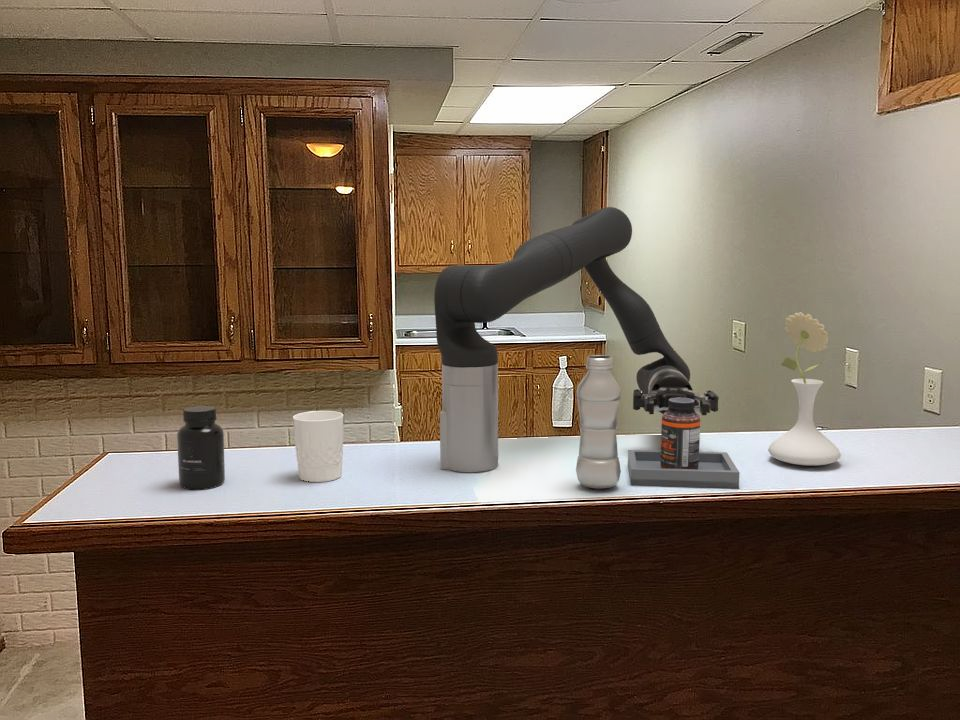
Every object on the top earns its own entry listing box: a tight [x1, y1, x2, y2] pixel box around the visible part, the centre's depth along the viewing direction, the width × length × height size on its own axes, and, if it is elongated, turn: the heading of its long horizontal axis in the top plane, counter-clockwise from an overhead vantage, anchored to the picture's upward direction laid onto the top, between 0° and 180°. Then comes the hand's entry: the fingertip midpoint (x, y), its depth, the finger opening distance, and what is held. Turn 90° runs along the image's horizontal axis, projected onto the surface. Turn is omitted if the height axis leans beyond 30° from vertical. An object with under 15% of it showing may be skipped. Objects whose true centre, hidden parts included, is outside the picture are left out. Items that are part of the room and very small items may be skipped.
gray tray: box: [627, 449, 740, 490], centre depth 132 cm, size 16×12×2 cm
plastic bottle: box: [575, 354, 622, 489], centre depth 125 cm, size 6×7×20 cm
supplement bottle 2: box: [660, 397, 701, 470], centre depth 131 cm, size 6×6×11 cm
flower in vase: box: [767, 311, 842, 466], centre depth 139 cm, size 13×11×25 cm
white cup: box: [292, 410, 345, 483], centre depth 133 cm, size 8×8×10 cm
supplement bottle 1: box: [176, 405, 226, 490], centre depth 129 cm, size 7×7×12 cm
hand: (678, 408), depth 137 cm, fingers open, 8 cm apart
